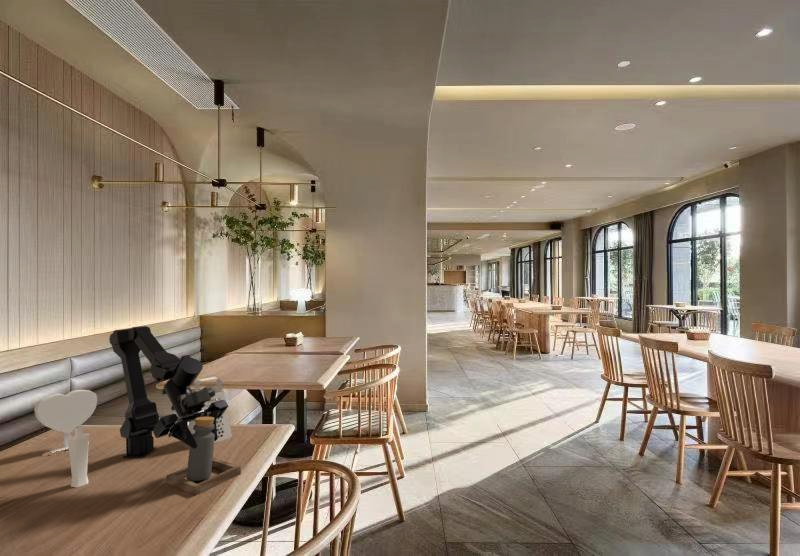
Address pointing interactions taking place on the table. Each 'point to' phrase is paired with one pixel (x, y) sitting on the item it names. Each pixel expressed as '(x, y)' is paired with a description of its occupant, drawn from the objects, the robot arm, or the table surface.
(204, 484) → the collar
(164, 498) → the table surface
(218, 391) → the grater
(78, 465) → the perfume bottle
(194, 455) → the bottle
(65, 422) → the heart sculpture
